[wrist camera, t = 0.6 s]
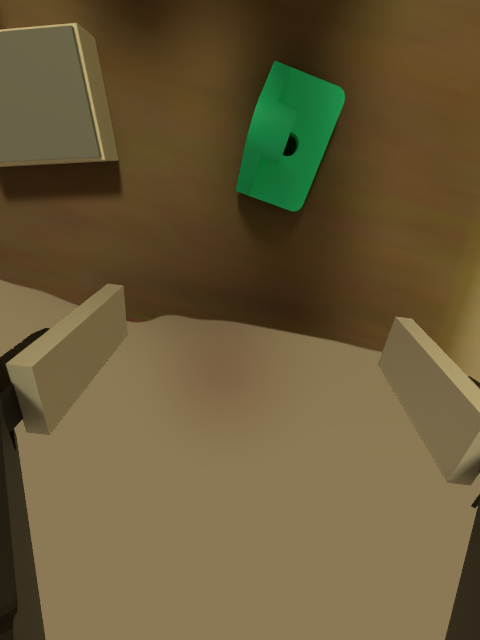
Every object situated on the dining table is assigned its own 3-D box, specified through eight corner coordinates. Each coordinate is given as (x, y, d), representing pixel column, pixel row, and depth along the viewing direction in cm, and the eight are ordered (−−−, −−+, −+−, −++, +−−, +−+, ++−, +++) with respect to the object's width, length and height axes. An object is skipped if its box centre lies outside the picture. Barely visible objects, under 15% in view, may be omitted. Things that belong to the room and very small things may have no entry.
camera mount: (296, 211, 37) (308, 225, 28) (237, 189, 37) (229, 196, 27) (342, 96, 32) (375, 67, 23) (273, 68, 31) (279, 26, 22)
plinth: (-44, 49, 32) (-82, 34, 28) (94, 37, 31) (73, 20, 27) (-3, 167, 37) (-31, 167, 33) (118, 160, 36) (102, 159, 32)
